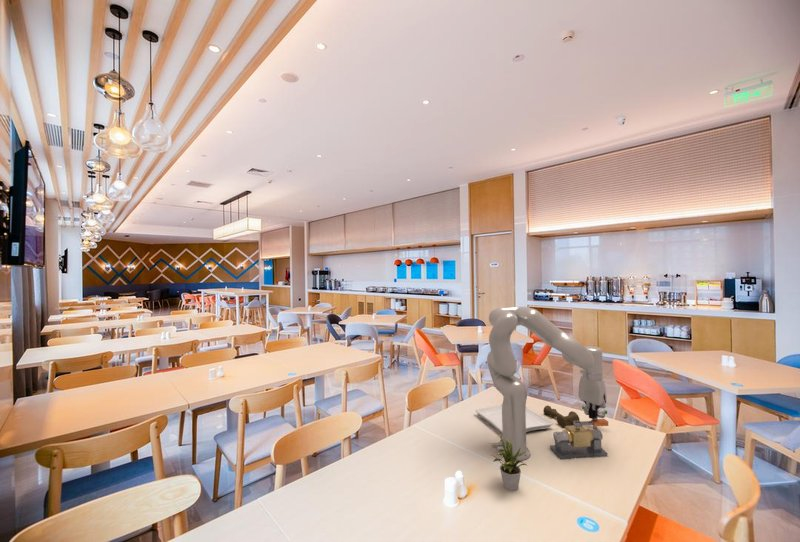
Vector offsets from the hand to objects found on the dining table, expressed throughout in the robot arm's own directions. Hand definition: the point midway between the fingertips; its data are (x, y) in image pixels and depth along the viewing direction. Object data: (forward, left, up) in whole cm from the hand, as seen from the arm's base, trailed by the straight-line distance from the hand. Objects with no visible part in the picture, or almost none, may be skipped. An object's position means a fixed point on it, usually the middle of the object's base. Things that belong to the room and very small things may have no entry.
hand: (592, 417), depth 147 cm
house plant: (-47, -21, -12) cm, 53 cm away
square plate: (-26, +26, -13) cm, 38 cm away
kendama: (-1, +23, -13) cm, 26 cm away
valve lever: (-4, -5, -1) cm, 6 cm away
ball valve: (-10, -4, -12) cm, 16 cm away
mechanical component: (+10, +15, -12) cm, 22 cm away
